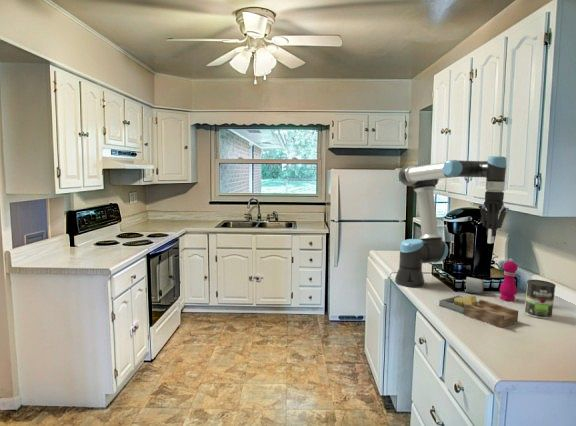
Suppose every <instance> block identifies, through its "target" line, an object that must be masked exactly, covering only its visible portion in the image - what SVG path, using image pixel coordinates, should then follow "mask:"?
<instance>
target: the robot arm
mask: <svg viewBox="0 0 576 426" xmlns="http://www.w3.org/2000/svg"><path fill="white" fill-rule="evenodd" d="M506 173H507V158H506V156H496V155H495V156H488V158H487V160H486V161H485V160H459V159H458V160H457V159H449V160H447V161H444V162H438V163H431V164H423V165H421V164H420V165H418V164H409V165H408V164H407V165H404V166H403V167H401V168H400V169H399V172H398V180H399V181H400V182H401V184H402V185H405V186H407V187H413V191H414V192H415V193H416V195H417V204H418V212H419V213H418V214H419V221H420V229H421V230H420V232H421V236H420V237H419V238H408V239H404V240H402V241H400V242H401V243H400V248H399V262H398V263H399V265H398V266H399V267H398V270H397V272H396V275H395V278H394V283H396V284H397V285H400V286H402V287H403V286H404V287H409V288H419V287H420V288H421V287H423V286H424V285H425V278H424V274H423V264H431V263H434V264H436V263H441V262H443V261H444V260H445V259H446V258H447V256H448V255H449V254H448V253H449V247H448V244H447V243H446V242H445V241H444V240H443V238H442V236H441V235H440V234H439V229H438V228H439V226H438V221H437V220H438V219H437V213H436V212H437V211H436V205H435V195H434V192H435V190H436V188H437V187H436V186H437V185H438V183H439V181H440V179H448V178H485V180H486V181H485V192H484V202H483V204H480V205H478V208H479V211H480V217H481V223H482V227H485V228H486V232H485V233H486V236H487V244H490V245H491V244H494V243H495V237H497V230H498V229H501V228H502V226H503V223H504V220H505V218H506V215H507V213H508V211H509V207H506V206H505V205H504V200H505V199H504V197H505V192H504V191H505V187H506Z"/></svg>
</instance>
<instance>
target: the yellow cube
mask: <svg viewBox="0 0 576 426" xmlns="http://www.w3.org/2000/svg"><path fill="white" fill-rule="evenodd" d="M476 296H477V295H466V296H462V300H463V305H464V307H465V304H470V305H473V306H476V305H477V301H478V300H477V297H476Z"/></svg>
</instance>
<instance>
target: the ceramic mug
mask: <svg viewBox="0 0 576 426" xmlns="http://www.w3.org/2000/svg"><path fill="white" fill-rule="evenodd" d="M466 280H467V281H466ZM484 283H485V282H484V279H480V278H476V277H469V276H466V278H465V285H466V289H465V288H464V292H465V293H468V294H469V293H470V294H478V295H480V294H483V293H484V286H485V285H484Z"/></svg>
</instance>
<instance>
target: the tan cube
mask: <svg viewBox="0 0 576 426" xmlns="http://www.w3.org/2000/svg"><path fill="white" fill-rule="evenodd" d="M462 297H463V296H462ZM462 297H457V298H454V305H457V306H460V307H463V308H464V305H463V300H462Z"/></svg>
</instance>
